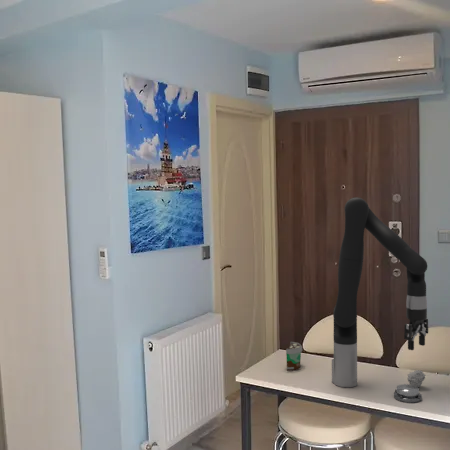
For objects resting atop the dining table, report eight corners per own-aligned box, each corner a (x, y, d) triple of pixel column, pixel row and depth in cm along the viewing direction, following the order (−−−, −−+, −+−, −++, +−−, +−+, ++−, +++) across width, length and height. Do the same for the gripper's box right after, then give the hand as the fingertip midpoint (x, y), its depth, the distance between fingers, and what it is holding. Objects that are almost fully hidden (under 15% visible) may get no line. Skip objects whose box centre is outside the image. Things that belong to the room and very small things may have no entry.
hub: (388, 397, 203) (388, 388, 203) (402, 390, 210) (402, 381, 210) (413, 405, 195) (413, 395, 195) (427, 397, 202) (427, 388, 202)
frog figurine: (422, 391, 208) (422, 374, 208) (404, 387, 213) (404, 370, 212) (427, 387, 213) (428, 369, 212) (410, 383, 217) (410, 366, 217)
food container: (300, 373, 232) (300, 350, 232) (286, 371, 234) (286, 349, 233) (304, 363, 244) (304, 342, 243) (290, 363, 246) (290, 341, 245)
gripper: (416, 302, 218) (416, 341, 219) (398, 308, 209) (398, 349, 210) (434, 305, 213) (434, 345, 214) (416, 311, 203) (416, 353, 204)
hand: (416, 347), depth 212 cm, fingers open, 8 cm apart
